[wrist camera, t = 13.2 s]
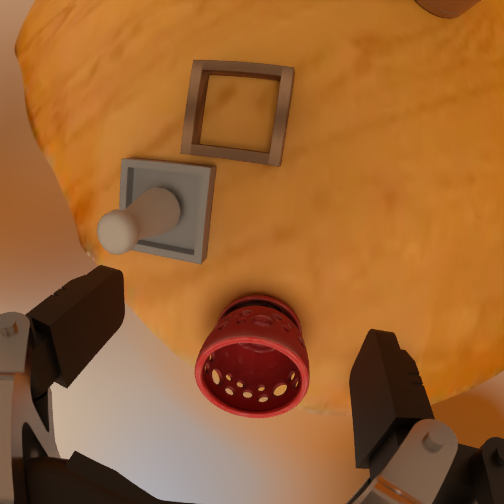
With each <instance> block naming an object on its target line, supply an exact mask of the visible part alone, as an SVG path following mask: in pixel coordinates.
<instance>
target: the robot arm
mask: <svg viewBox="0 0 504 504" xmlns="http://www.w3.org/2000/svg"><path fill="white" fill-rule="evenodd" d="M479 1H481V0H416V2H417V3H418V4H419V5H421V6H422V7H423V8H424V9H426V10H427V11H429V12H431V13H433V14H435V15H437V16H440V17H443V18H456V17H459V16H460V15H461V14H463V13H464V12H465V11H467V10H468V9H470V8H471V7H473V6H474V5H475V4H477V3H478V2H479ZM124 315H125V303H124V278H123V273H122V272H121V271H120V270H117V269H114V268H110V267H107V266H103V265H99V266H98V267H96V268H95V269H94V270H92V271H91V272H89V273H88V274H87V275H84V276H81V277H78V278H76V279H73V280H71V281H69V282H68V283H67V284H66V285H64V286H63V287H62V289H59V290H57V291H56V292H55V293H54V295H50V296H49V297H48V298H47V299H45V300H44V301H43V302H41V303H40V304H39V305H37V306H36V307H35V308H33V309H32V310H31V311H30V312H29V313H27V314H26V315H24V314H22V313H18V312H7V313H3V314H0V504H194V503H181V502H171V501H163V500H159V499H157V498H155V497H153V496H151V495H150V494H148V493H147V492H145V491H144V490H142V489H141V488H139V487H138V486H136V485H135V484H133V483H132V482H131V481H129V480H128V479H126V478H125V477H124V476H122V475H121V474H119V473H118V472H117V471H115V470H113V469H111V468H109V467H107V466H104V465H102V464H100V463H98V462H96V461H94V460H92V459H90V458H88V457H86V456H84V455H82V454H80V453H78V452H77V451H74V453H73V455H72V456H71V457H70V459H69V460H68V459H62V458H60V455H59V452H58V450H57V446H56V443H55V437H54V425H53V410H52V392H51V389H50V386H51V385H52V384H53V382H56V383H58V384H60V385H61V386H63V387H65V388H68V387H69V386H70V384H71V383H72V382H73V381H74V379H75V378H76V377H77V376H78V375H79V374H80V373H81V371H82V370H83V369H84V368H85V367H86V366H87V364H88V363H89V362H90V361H91V360H92V359H93V357H94V356H95V355H96V354H97V353H98V352H99V350H100V349H101V348H102V347H103V346H104V345H105V343H106V342H107V341H108V340H109V339H110V338H111V337H112V336H113V334H114V333H115V332H116V331H117V330H118V329H119V328H120V326H121V324H122V322H123V319H124ZM422 384H423V382H422V379H421V377H420V376H419V371H418V368H417V366H416V363H415V361H414V360H413V359H412V357H411V356H410V355H409V354H408V353H407V352H406V350H401V349H400V347H399V344H398V341H397V338H396V335H395V334H394V333H393V332H388V331H382V330H376V329H371V330H369V332H368V334H367V336H366V338H365V340H364V343H363V345H362V347H361V349H360V352H359V354H358V356H357V358H356V360H355V363H354V365H353V367H352V370H351V374H350V381H349V386H350V395H351V406H352V417H353V429H354V443H355V460H356V468H364V469H370V477H369V478H368V479H367V480H366V481H365V482H364V483H363V485H362V486H361V487H360V488H359V489H358V490H357V492H356V493H355V494H354V495H353V496H352V497H351V498H350V499H349V501H348V502H347V503H346V504H477V503H478V504H504V439H502V438H498V437H493V438H490V439H488V440H487V441H486V442H485V443H484V444H483V445H482V446H481V447H480V448H479V449H478V448H474V447H470V446H466V445H462V444H459V443H458V442H457V438H456V436H455V434H454V432H453V431H452V430H451V429H450V428H449V427H448V426H447V425H445V424H444V423H442V422H440V421H438V420H435V418H434V415H433V412H432V409H431V406H430V403H429V400H428V397H427V394H426V391H425V388H424V386H422Z"/></svg>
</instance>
